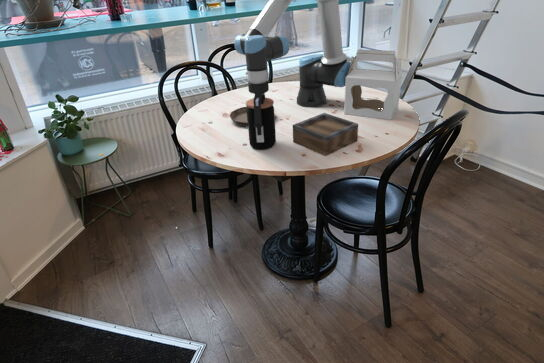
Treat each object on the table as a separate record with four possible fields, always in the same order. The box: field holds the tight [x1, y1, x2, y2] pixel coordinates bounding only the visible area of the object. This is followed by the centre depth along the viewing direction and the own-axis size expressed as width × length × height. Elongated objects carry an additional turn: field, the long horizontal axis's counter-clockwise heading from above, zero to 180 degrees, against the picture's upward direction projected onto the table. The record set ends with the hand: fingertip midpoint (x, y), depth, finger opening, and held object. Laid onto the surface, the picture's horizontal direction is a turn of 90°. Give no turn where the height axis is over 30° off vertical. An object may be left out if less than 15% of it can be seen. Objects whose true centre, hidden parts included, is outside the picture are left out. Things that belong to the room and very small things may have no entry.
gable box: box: [343, 49, 403, 121], centre depth 168 cm, size 22×13×28 cm, turn 62°
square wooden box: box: [292, 112, 359, 157], centre depth 148 cm, size 18×18×8 cm
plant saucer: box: [229, 106, 248, 127], centre depth 176 cm, size 21×21×3 cm
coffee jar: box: [245, 97, 277, 151], centre depth 147 cm, size 11×11×18 cm
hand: (262, 135), depth 149 cm, fingers closed on coffee jar, 11 cm apart
